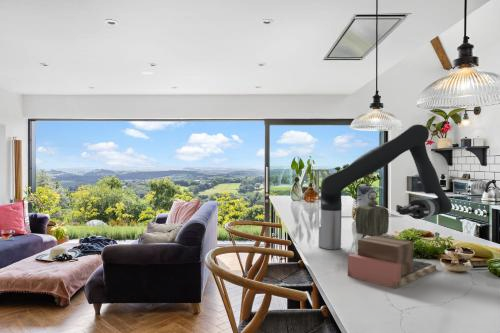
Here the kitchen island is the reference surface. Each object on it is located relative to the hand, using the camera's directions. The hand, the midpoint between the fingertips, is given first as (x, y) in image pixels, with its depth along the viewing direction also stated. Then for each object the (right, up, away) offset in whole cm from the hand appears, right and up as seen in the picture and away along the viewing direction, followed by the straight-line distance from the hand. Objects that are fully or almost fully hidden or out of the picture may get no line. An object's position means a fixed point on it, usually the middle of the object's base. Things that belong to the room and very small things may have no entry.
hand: (401, 211), depth 136 cm
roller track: (-4, -21, -4) cm, 22 cm away
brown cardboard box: (-9, -19, -8) cm, 22 cm away
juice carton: (+10, -20, +73) cm, 77 cm away
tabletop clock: (+5, -21, +47) cm, 51 cm away
